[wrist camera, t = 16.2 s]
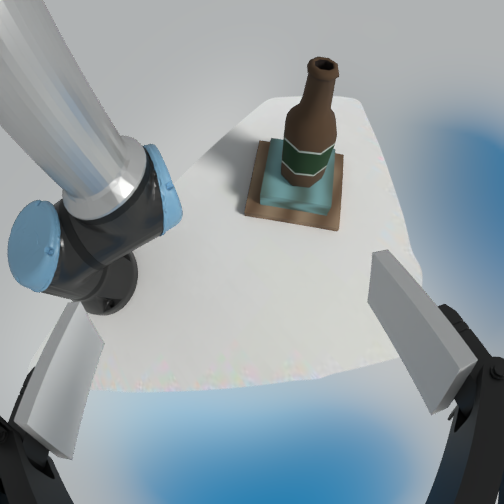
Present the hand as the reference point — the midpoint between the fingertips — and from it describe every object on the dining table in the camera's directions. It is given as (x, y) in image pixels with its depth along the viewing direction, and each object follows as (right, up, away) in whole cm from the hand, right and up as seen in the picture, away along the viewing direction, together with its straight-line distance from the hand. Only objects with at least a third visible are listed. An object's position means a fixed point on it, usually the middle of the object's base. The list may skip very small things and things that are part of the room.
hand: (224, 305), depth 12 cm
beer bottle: (+10, +16, +38) cm, 42 cm away
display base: (+10, +15, +43) cm, 46 cm away
